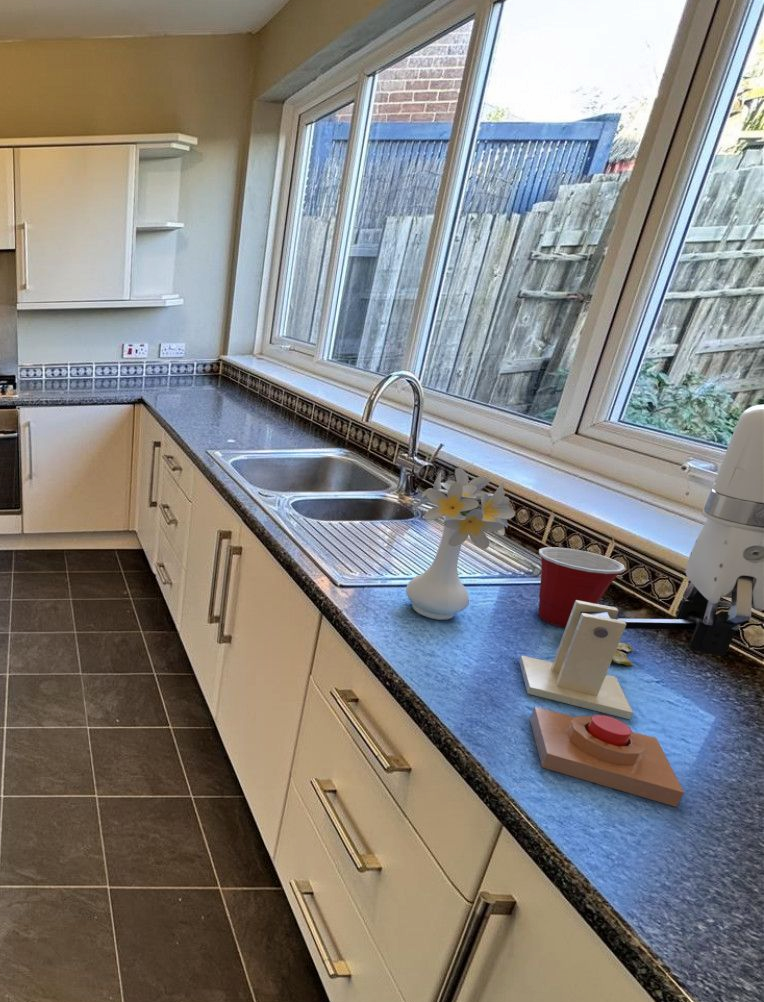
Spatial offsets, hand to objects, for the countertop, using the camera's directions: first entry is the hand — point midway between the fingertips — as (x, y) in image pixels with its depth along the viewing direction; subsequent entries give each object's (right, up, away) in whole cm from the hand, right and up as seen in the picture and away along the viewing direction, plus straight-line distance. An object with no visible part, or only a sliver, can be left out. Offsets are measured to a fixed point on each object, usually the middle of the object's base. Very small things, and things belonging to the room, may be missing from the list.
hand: (697, 639), depth 80 cm
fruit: (+4, -6, +17) cm, 19 cm away
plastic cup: (+5, -2, +26) cm, 27 cm away
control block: (-17, -14, -4) cm, 22 cm away
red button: (-17, -11, -5) cm, 20 cm away
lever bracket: (-8, -9, +9) cm, 15 cm away
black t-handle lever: (-4, 0, +3) cm, 5 cm away
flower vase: (-14, -1, +29) cm, 32 cm away
